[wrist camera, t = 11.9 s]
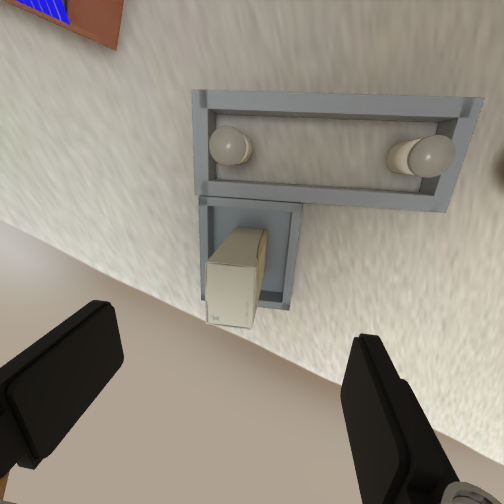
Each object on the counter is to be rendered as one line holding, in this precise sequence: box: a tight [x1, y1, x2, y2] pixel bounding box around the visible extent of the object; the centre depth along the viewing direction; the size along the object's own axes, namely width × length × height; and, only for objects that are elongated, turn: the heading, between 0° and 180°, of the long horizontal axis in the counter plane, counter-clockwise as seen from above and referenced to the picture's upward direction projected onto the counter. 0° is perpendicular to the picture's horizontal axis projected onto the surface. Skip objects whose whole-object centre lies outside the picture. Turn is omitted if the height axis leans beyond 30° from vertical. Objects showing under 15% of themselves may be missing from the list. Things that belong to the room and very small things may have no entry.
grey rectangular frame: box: [192, 90, 485, 213], centre depth 26 cm, size 27×10×3 cm, turn 87°
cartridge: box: [386, 135, 456, 178], centre depth 24 cm, size 3×3×6 cm
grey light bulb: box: [209, 126, 252, 166], centre depth 26 cm, size 3×3×6 cm
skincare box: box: [205, 227, 268, 329], centre depth 26 cm, size 6×4×12 cm
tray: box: [199, 195, 303, 310], centre depth 31 cm, size 12×14×3 cm
